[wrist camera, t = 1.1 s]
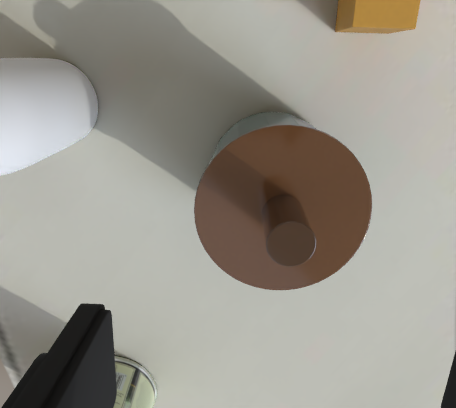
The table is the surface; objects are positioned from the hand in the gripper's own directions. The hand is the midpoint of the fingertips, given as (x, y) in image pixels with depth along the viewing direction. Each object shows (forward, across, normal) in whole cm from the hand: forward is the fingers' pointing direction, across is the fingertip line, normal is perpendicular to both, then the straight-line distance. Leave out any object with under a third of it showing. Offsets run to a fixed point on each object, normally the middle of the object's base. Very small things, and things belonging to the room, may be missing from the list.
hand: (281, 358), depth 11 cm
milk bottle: (+29, +18, -4) cm, 34 cm away
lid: (+18, -2, +2) cm, 19 cm away
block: (+29, -9, -13) cm, 33 cm away
